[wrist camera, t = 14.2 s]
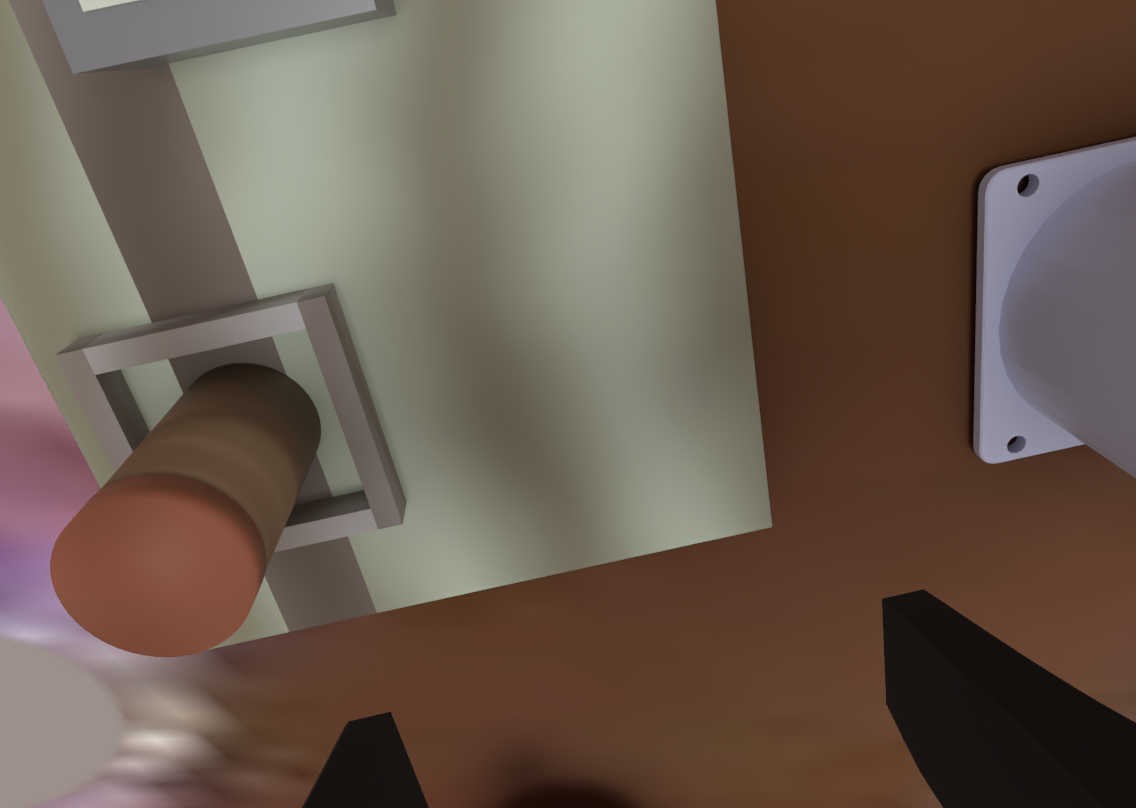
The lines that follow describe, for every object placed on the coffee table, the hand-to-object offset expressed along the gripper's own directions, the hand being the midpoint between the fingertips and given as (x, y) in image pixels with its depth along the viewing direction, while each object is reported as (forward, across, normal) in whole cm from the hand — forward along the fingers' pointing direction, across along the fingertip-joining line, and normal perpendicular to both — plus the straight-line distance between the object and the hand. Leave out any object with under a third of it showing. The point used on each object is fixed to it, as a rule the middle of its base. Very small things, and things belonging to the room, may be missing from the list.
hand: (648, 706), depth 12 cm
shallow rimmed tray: (+10, +3, -6) cm, 12 cm away
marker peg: (+9, +8, -2) cm, 12 cm away
